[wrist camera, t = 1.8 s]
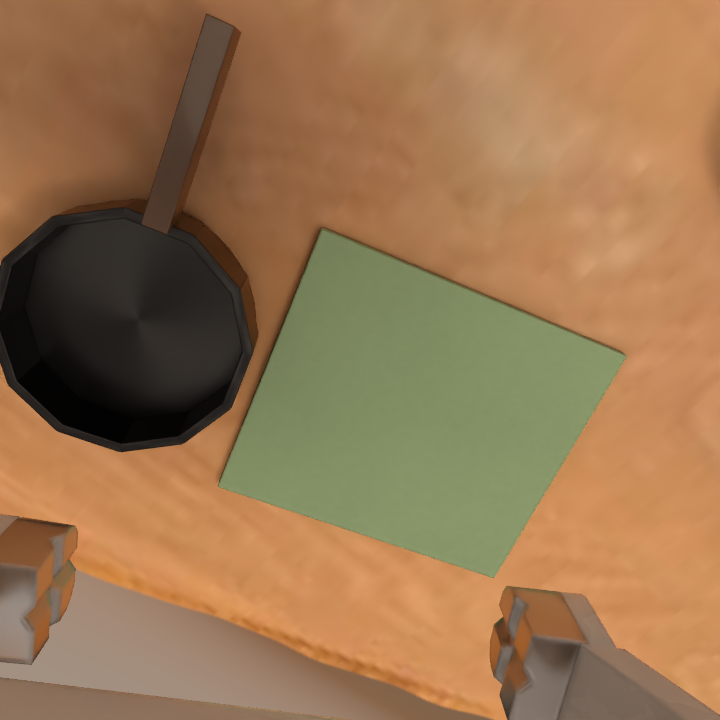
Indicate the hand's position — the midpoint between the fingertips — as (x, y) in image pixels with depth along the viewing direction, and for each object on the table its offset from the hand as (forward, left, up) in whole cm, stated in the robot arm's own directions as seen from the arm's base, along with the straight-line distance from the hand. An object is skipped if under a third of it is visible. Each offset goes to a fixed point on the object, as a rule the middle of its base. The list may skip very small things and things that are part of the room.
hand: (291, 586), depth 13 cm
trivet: (+8, -5, -24) cm, 26 cm away
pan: (-8, -1, -24) cm, 25 cm away
